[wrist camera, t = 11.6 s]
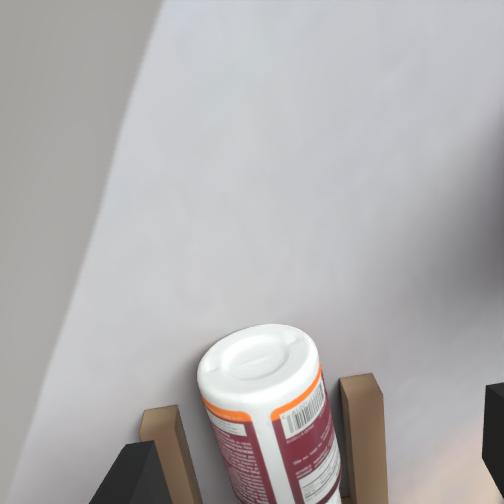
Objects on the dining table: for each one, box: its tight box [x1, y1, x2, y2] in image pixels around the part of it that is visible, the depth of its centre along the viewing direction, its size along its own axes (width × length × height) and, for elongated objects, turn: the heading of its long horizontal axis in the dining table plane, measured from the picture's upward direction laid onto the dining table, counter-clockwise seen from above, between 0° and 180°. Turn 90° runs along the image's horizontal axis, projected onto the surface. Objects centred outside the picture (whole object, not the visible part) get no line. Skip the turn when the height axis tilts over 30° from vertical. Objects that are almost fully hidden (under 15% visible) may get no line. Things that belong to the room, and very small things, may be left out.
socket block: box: [139, 373, 388, 504], centre depth 22 cm, size 10×9×2 cm
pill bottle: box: [197, 324, 342, 504], centre depth 19 cm, size 5×5×8 cm
